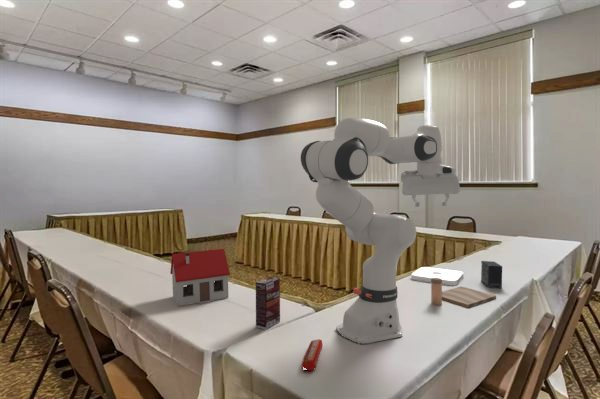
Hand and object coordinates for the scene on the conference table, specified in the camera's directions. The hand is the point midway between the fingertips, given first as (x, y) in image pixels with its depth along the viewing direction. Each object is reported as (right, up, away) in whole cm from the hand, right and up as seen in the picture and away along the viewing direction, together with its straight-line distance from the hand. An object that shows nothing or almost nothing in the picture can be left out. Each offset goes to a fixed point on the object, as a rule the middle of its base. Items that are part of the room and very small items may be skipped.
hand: (430, 206), depth 128 cm
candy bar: (-46, -43, -32) cm, 71 cm away
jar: (+6, -40, +10) cm, 42 cm away
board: (+21, -40, +17) cm, 48 cm away
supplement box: (-61, -42, -8) cm, 74 cm away
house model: (-94, -41, +23) cm, 105 cm away
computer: (+22, -39, +49) cm, 66 cm away
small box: (+43, -39, +35) cm, 68 cm away
